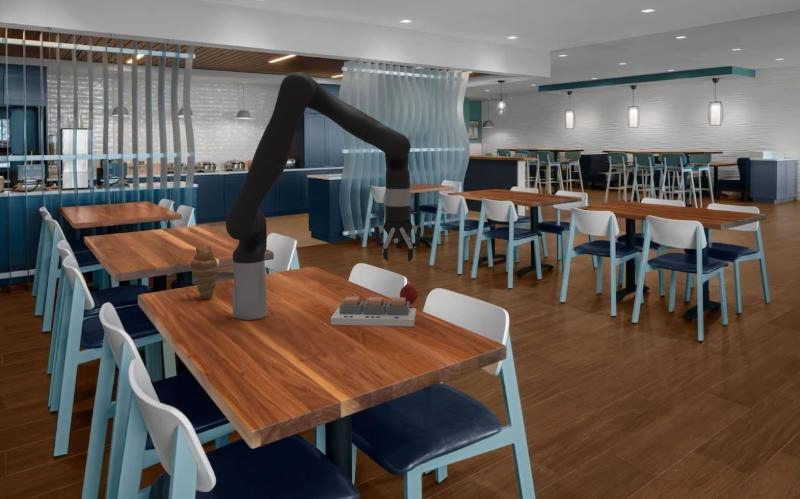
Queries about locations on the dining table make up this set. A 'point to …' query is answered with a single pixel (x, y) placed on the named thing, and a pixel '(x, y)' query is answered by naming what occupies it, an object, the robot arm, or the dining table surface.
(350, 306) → the button panel
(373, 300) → the button three
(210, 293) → the cat ice cream
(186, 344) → the dining table surface
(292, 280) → the dining table surface
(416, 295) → the onion
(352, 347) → the dining table surface
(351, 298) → the button two
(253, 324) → the dining table surface
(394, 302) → the button one
